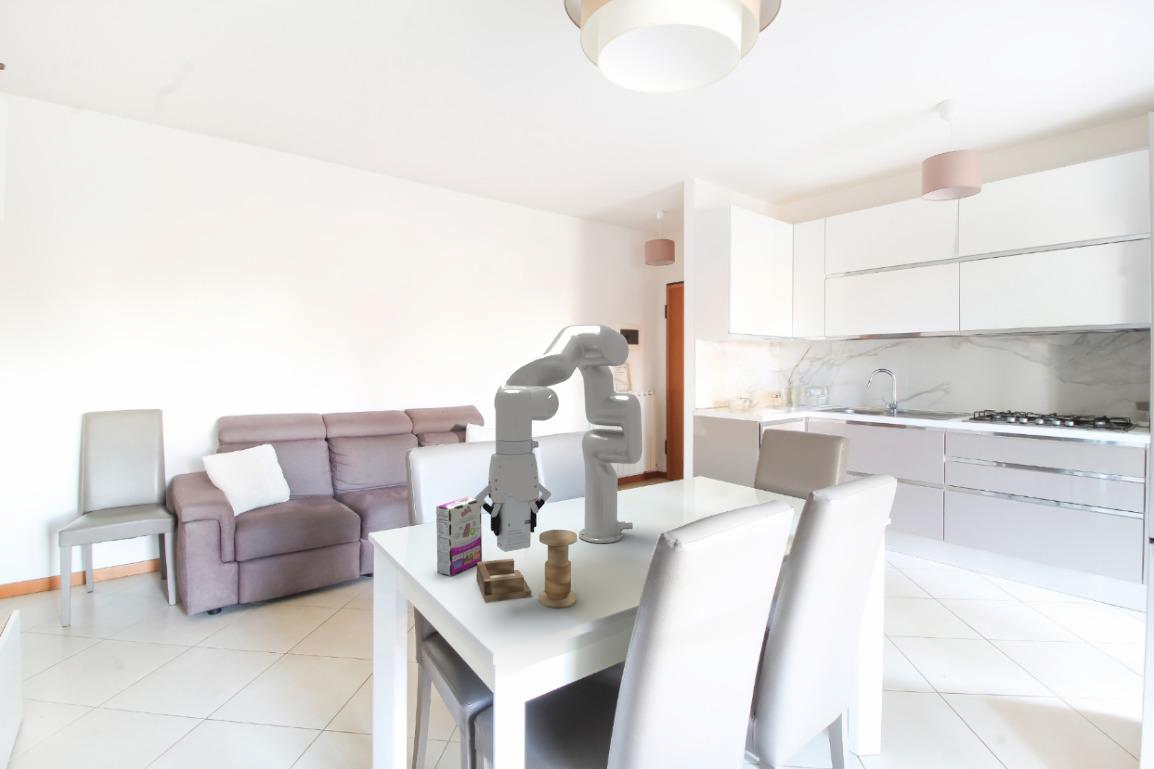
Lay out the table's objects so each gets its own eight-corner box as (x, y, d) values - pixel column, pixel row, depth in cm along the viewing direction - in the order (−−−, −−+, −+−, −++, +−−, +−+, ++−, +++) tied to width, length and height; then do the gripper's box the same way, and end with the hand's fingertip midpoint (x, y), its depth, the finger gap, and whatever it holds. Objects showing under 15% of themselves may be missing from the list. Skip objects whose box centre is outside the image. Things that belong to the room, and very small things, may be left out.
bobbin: (570, 590, 123) (570, 528, 122) (581, 605, 115) (581, 539, 115) (535, 594, 120) (535, 531, 120) (544, 610, 113) (544, 542, 112)
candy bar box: (467, 559, 142) (467, 496, 142) (482, 563, 139) (482, 498, 139) (435, 573, 133) (435, 505, 132) (450, 577, 130) (450, 508, 129)
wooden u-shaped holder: (518, 574, 132) (518, 557, 132) (531, 596, 120) (531, 577, 120) (476, 579, 129) (476, 561, 129) (484, 602, 117) (484, 582, 116)
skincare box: (505, 552, 112) (505, 493, 111) (495, 546, 116) (495, 489, 115) (532, 547, 115) (532, 490, 115) (521, 541, 119) (521, 485, 119)
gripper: (549, 443, 121) (548, 523, 122) (469, 447, 116) (469, 531, 116) (558, 448, 114) (558, 533, 115) (474, 452, 108) (474, 542, 109)
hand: (513, 531), depth 116 cm, fingers closed on skincare box, 6 cm apart
